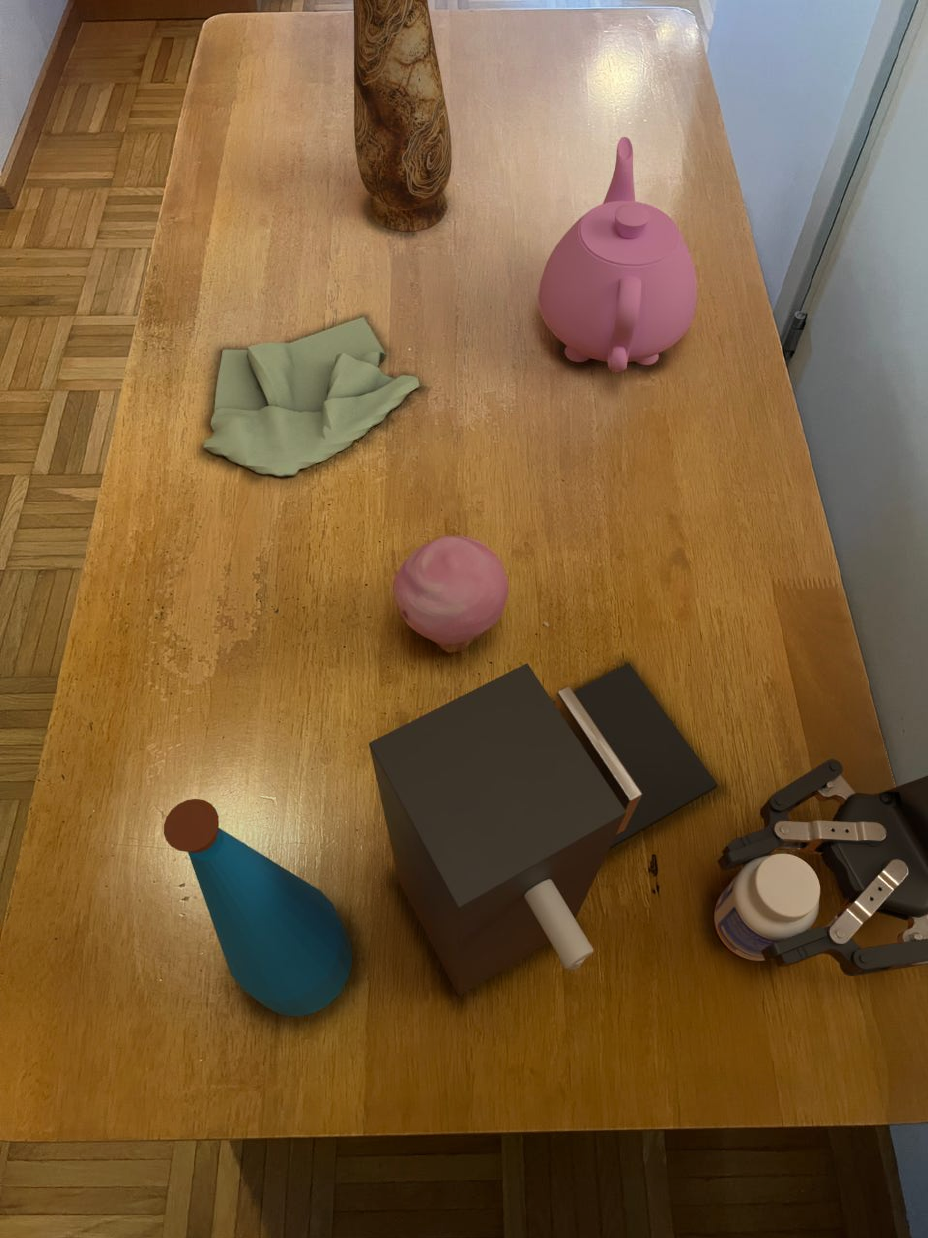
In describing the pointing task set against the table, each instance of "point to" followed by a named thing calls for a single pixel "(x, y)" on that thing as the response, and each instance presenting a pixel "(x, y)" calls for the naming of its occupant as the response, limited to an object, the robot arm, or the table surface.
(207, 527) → the table surface
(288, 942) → the bottle
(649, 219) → the teapot
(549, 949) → the table surface
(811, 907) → the pill bottle
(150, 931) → the table surface
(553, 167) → the table surface
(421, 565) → the cupcake
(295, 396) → the cloth
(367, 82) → the vase
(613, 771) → the plate
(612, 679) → the mat
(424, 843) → the soap dispenser
